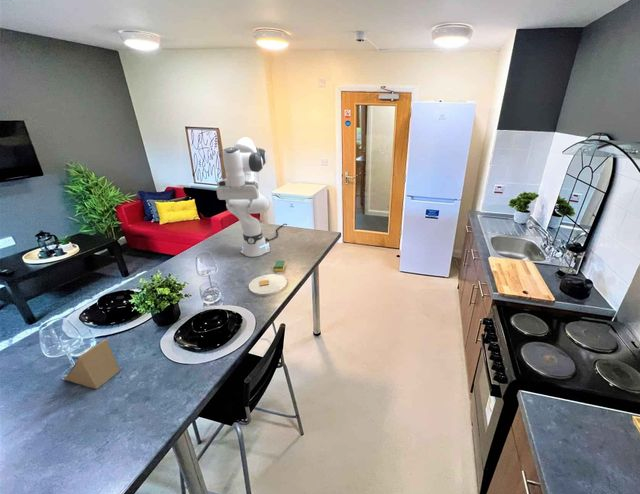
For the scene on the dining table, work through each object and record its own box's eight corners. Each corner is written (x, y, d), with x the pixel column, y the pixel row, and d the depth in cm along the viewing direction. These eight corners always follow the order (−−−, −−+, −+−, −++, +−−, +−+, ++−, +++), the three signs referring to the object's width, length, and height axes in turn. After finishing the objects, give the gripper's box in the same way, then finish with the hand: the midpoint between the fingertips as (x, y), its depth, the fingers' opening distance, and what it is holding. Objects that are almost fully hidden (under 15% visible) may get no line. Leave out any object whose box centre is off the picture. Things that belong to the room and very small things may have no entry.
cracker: (260, 281, 160) (259, 280, 159) (268, 280, 161) (268, 279, 160) (259, 286, 156) (259, 285, 155) (268, 285, 157) (268, 283, 157)
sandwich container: (89, 360, 109) (74, 330, 103) (121, 369, 106) (107, 338, 100) (63, 379, 102) (44, 347, 95) (96, 389, 98) (79, 356, 92)
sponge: (277, 266, 178) (276, 260, 176) (285, 266, 179) (284, 260, 177) (274, 273, 171) (274, 266, 169) (283, 273, 172) (282, 266, 170)
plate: (253, 277, 167) (253, 274, 166) (289, 275, 169) (288, 273, 169) (245, 297, 149) (244, 294, 148) (284, 295, 151) (284, 292, 151)
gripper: (258, 179, 151) (262, 205, 157) (217, 179, 148) (222, 205, 154) (256, 182, 145) (259, 208, 151) (213, 182, 143) (218, 209, 148)
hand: (240, 207), depth 152 cm, fingers open, 8 cm apart
